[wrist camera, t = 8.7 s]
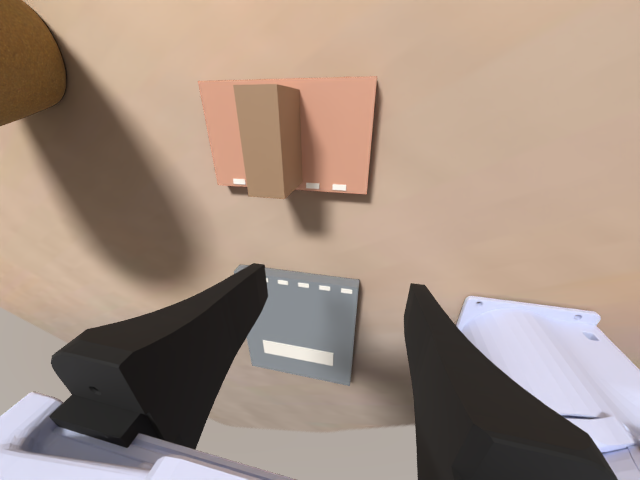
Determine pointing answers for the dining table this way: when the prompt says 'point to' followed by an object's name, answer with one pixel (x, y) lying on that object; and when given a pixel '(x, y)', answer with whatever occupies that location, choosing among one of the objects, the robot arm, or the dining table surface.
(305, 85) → the stub
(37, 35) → the plant pot
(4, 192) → the dining table surface
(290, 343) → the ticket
